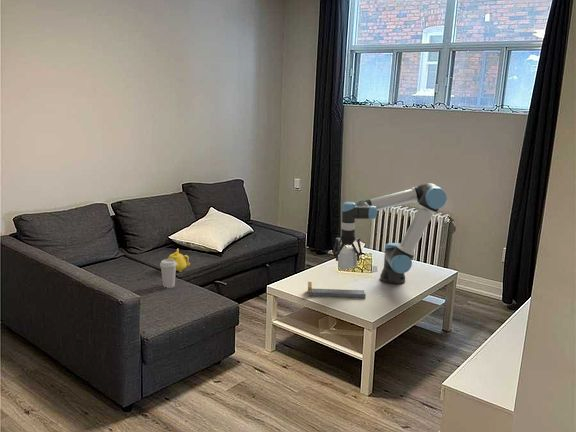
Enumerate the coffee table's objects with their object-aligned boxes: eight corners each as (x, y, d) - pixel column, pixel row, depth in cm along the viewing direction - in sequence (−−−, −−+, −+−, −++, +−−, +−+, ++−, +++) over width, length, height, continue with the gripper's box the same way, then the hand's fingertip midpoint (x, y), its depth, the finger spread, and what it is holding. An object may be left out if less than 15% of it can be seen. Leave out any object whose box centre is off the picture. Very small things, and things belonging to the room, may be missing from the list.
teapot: (188, 275, 337) (188, 257, 334) (164, 275, 335) (163, 257, 333) (191, 264, 356) (190, 247, 354) (167, 265, 355) (167, 247, 352)
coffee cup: (180, 284, 321) (180, 260, 317) (170, 290, 312) (170, 264, 309) (167, 282, 325) (166, 257, 321) (156, 287, 316) (156, 262, 313)
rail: (363, 292, 316) (364, 283, 315) (365, 298, 307) (365, 289, 306) (307, 290, 317) (308, 281, 315) (307, 296, 308) (308, 287, 307)
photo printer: (351, 265, 326) (352, 245, 323) (356, 267, 322) (356, 247, 319) (337, 268, 320) (338, 248, 317) (342, 270, 317) (343, 250, 314)
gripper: (366, 227, 319) (365, 264, 324) (328, 227, 320) (327, 264, 325) (368, 230, 312) (367, 268, 317) (329, 230, 312) (328, 268, 318)
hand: (347, 266), depth 321 cm, fingers closed on photo printer, 9 cm apart
